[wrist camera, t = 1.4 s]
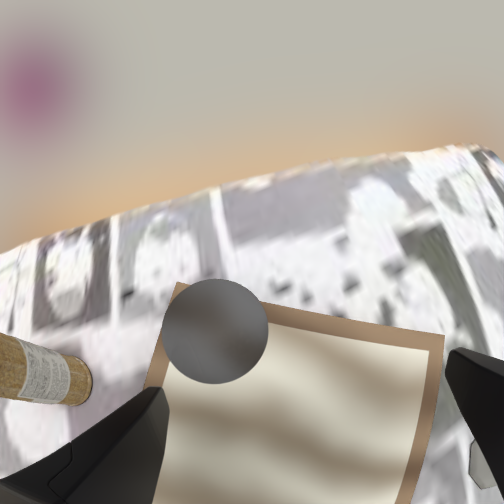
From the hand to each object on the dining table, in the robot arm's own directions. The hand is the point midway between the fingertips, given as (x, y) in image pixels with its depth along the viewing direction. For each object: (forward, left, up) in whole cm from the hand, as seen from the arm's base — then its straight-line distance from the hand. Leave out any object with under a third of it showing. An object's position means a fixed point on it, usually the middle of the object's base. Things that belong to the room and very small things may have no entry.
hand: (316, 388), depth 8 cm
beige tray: (-4, -1, -14) cm, 15 cm away
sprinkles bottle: (-5, +17, -14) cm, 23 cm away
